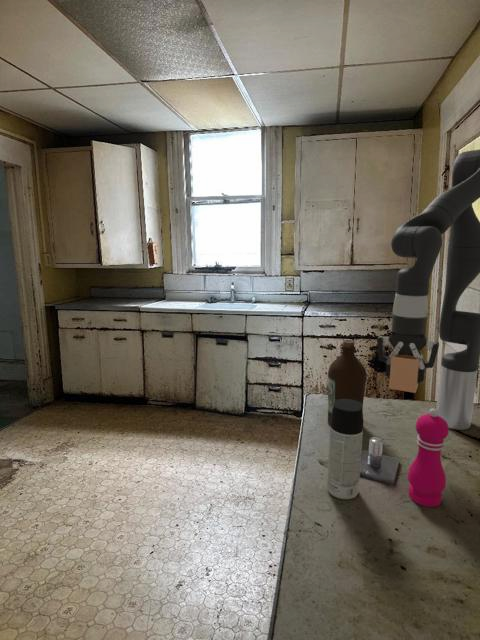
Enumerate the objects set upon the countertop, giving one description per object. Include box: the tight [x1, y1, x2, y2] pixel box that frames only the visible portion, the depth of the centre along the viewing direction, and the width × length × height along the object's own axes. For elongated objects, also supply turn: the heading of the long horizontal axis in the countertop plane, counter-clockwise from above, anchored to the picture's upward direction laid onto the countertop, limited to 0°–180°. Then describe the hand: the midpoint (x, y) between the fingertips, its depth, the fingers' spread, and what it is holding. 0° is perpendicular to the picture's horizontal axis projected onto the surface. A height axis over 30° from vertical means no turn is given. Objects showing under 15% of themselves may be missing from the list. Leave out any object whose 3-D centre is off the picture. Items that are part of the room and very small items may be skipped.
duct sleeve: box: [388, 353, 419, 394], centre depth 97 cm, size 6×6×8 cm
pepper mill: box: [407, 407, 450, 508], centre depth 81 cm, size 7×7×20 cm
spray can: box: [326, 399, 365, 500], centre depth 83 cm, size 7×7×20 cm
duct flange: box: [360, 436, 400, 485], centre depth 94 cm, size 10×10×7 cm
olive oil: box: [327, 339, 367, 426], centre depth 114 cm, size 11×11×25 cm
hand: (404, 380), depth 97 cm, fingers closed on duct sleeve, 6 cm apart
